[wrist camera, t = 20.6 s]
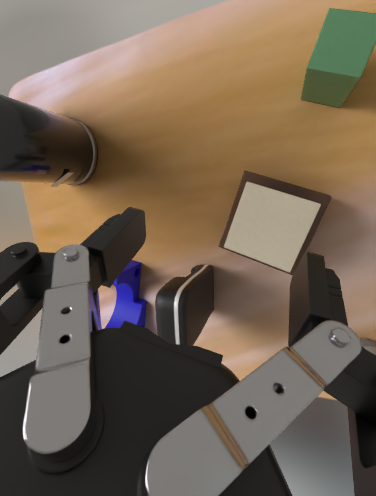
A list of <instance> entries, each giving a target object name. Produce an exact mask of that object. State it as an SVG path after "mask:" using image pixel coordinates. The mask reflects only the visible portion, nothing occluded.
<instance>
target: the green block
mask: <svg viewBox="0 0 376 496" xmlns="http://www.w3.org/2000/svg"><path fill="white" fill-rule="evenodd" d="M375 44H376V13H368V12H359V11H350V10H341V9H332V8H330V9H329V11H328V13H327V16H326V19H325V21H324V24H323V27H322V29H321V32H320V35H319V37H318V40H317V43H316V45H315V48H314V50H313V53H312V56H311V58H310V61H309V64H308V66H307V70H306V75H305V81H304V86H303V91H302V96H301V100H305V101H310V102H314V103H319V104H324V105H329V106H333V107H338V108H340V107H341V106H342V104H343V103H344V101H345V100H346V98H347V97H348V95H349V94H350V92H351V91H352V89H353V88H354V86H355V85H356V83H357V82H358V81H359V79H360V78H361V76H362V73H363V71H364V69H365V67H366V64H367V62H368V60H369V57H370V55H371V53H372V51H373V48H374V46H375Z"/></svg>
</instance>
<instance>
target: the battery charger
mask: <svg viewBox="0 0 376 496" xmlns="http://www.w3.org/2000/svg"><path fill="white" fill-rule="evenodd" d="M155 306H156V322H157V334H158V336H159V337H160V338H162V339H163V340H164V341H166V342H168V343H170V344H179V345H189V346H193V345H194V343H195V341H196V340H197V338H198V336H199V335H200V333H201V331H202V329H203V327H204V326H205V324H206V322H207V320H208V318H209V316H210V315H211V313H212V311H213V310H214V274H213V266H212V265H208V264H206V265H197V266H195V267H193V268H192V270H191V274H190V275H188V276H187V277H175V278H173V279H171V280H170V281H169V282H168V283H167V284H165V285H164V286H163V287H162V288H161V289H160V290H159V292H158V293H157V296H156V301H155Z"/></svg>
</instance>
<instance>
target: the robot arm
mask: <svg viewBox="0 0 376 496" xmlns="http://www.w3.org/2000/svg"><path fill="white" fill-rule="evenodd" d="M96 163H97V146H96V142H95V139H94V136H93V134H92V133H91V131H90V130H89V128H88V127H87V126H86V125H85V124H83V123H82V122H80V121H78V120H75V119H72V118H67V117H64V116H61V115H58V114H56V113H53V112H50V111H47V110H44V109H41V108H38V107H35V106H32V105H29V104H26V103H23V102H20V101H18V100H15V99H12V98H9V97H6V96H3V95H0V181H5V182H31V183H54V184H53V185H52V186H58V185H59V184H69V185H78V184H81V183H84V182H85V181H87V180H88V179H89V178H90V177H91V175H92V174H93V172H94V170H95V167H96ZM145 238H146V226H145V212H144V211H143V210H139V209H135V208H131V207H129V208H127V209H126V210H125V211H124V212H123V213H122V214H121V215H120V214H117V215H115V216H113V217H111V218H109V219H108V220H107V221H106V222H104V223H103V225H101V226H100V227H99V228H98V229H97V230H96V231H95V232H93V233H92V234H91V235H90V236H89V237H88V238H87V239H86V240H85V241H83V242H82V243H81V244H80V245H68V246H65V247H63V248H61V249H60V250H58V251H57V252H56V253H46V252H39V249H38V247H37V245H36V244H34V243H31V242H21V243H17V244H14V245H12V246H10V247H8V248H6V249H5V250H4V251H2V252H1V253H0V300H1V298H2V297H3V296H4V295H5V294H6V293H7V292H8V291H9V290H10V289H11V288H12V287H14V286H15V285H16V284H17V286H18V288H19V289H18V290H17V291H16V292H15V293H14V294H13V295H11V297H9V298H8V299H7V300H6V301H5V302H4V303H3V304H2V305H1V306H0V354H2V352H3V351H4V350H5V349H6V348H7V347H8V346H9V345H10V344H11V342H12V341H13V340H14V339H15V338H16V337H17V336H18V334H19V333H20V332H21V331H22V330H23V329H24V328H25V327H26V326H27V324H28V323H29V322H30V321H31V320H32V319H33V318H34V317H35V316H36V314H37V313H38V312H39V311H40V310H41V309H42V308H43V310H42V319H41V326H40V334H39V342H38V350H37V358H36V360H35V361H33V362H31V363H29V364H26V365H25V366H22V367H20V368H18V369H16V370H14V371H12V372H10V373H8V374H6V375H4V376H2V377H0V496H292V494H291V492H290V489H289V487H288V485H287V482H286V480H285V478H284V476H283V473H282V471H281V469H280V467H279V464H278V462H277V460H276V458H275V455H274V453H273V451H272V449H271V446H270V443H271V442H272V441H273V440H274V439H275V438H276V437H277V436H278V435H279V434H280V433H281V432H282V431H283V430H284V429H285V428H286V427H287V426H288V425H289V424H290V423H291V422H292V421H293V420H294V419H295V418H296V417H297V416H298V415H299V414H300V413H301V412H302V411H303V410H304V409H305V408H306V407H307V406H308V405H309V404H310V403H311V402H312V401H313V400H314V399H315V398H316V397H317V396H318V395H319V394H320V393H321V392H322V391H323V390H324V391H325V392H327V393H328V394H330V395H331V396H332V397H334V398H335V399H337V400H338V401H340V402H341V403H343V404H344V405H346V406H347V407H348V419H349V432H350V444H351V457H352V468H353V481H354V493H355V496H376V355H375V354H373V353H371V352H370V351H368V350H366V349H365V348H364V347H362V346H361V342H360V339H359V338H358V336H357V335H356V333H355V332H354V331H353V330H352V329H350V328H349V327H348V323H347V318H346V312H345V307H344V301H343V298H342V291H341V285H340V280H339V278H338V277H337V275H336V274H335V272H334V271H333V270H331V269H327V268H325V261H324V256H322V255H318V254H314V253H310V252H305V253H304V254H303V256H302V258H301V260H300V262H299V264H298V266H297V268H296V270H295V272H294V274H293V277H292V280H291V284H290V307H289V343H288V347H289V348H288V347H284V348H283V349H281V350H280V351H279V352H277V353H276V354H275V355H274V356H272V357H271V358H270V359H268V360H267V361H266V362H264V363H263V364H262V365H260V366H259V367H258V368H257V369H255V370H254V371H253V372H251V373H250V374H249V375H247V376H246V377H245V378H244V379H242V380H241V381H239V379H238V378H237V377H236V376H235V375H234V373H233V372H232V371H231V370H229V369H228V368H227V367H226V366H224V365H223V364H221V361H222V357H223V355H220V354H217V353H215V352H212V351H209V350H206V349H203V348H201V347H198V346H189V345H179V344H170V343H168V342H166V341H164V340H163V339H162V338H160V337H159V336H157V335H156V334H154V333H153V332H151V331H150V330H148V329H147V328H144V327H141V326H139V325H136V324H133V323H130V322H127V321H124V322H123V324H122V325H121V327H111V328H105V329H102V327H101V319H100V306H99V294H98V288H99V287H100V286H101V285H103V286H106V287H109V288H110V287H111V285H112V284H113V283H114V281H115V280H116V279H117V278H118V276H119V275H120V274H121V273H122V271H123V270H124V269H125V267H126V266H127V265H128V264H129V262H130V261H131V260H132V258H133V257H134V256H135V255H136V253H137V252H138V251H139V250H140V248H141V247H142V246H143V244H144V242H145Z"/></svg>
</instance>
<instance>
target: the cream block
mask: <svg viewBox="0 0 376 496" xmlns="http://www.w3.org/2000/svg"><path fill="white" fill-rule="evenodd" d="M320 206H321V204H319V203H316V202H313V201H310V200H306V199H303V198H300V197H297V196H293V195H290V194H287V193H283V192H280V191H277V190H274V189H270V188H267V187H264V186H260V185H257V184H254V183H251V182H246V185H245V188H244V190H243V193H242V196H241V199H240V202H239V205H238V208H237V210H236V213H235V216H234V219H233V222H232V225H231V227H230V230H229V233H228V236H227V239H226V242H225V244H224V247H225V248H227V249H230V250H232V251H235V252H238V253H240V254H243V255H245V256H248V257H251V258H253V259H256V260H258V261H261V262H263V263H266V264H269V265H271V266H274V267H276V268H279V269H282V270H284V271H287V272H290V271H291V269H292V267H293V265H294V263H295V260H296V258H297V256H298V254H299V252H300V249H301V247H302V245H303V243H304V241H305V239H306V236H307V234H308V232H309V230H310V228H311V225H312V223H313V221H314V219H315V217H316V215H317V212H318V210H319V208H320Z"/></svg>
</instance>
